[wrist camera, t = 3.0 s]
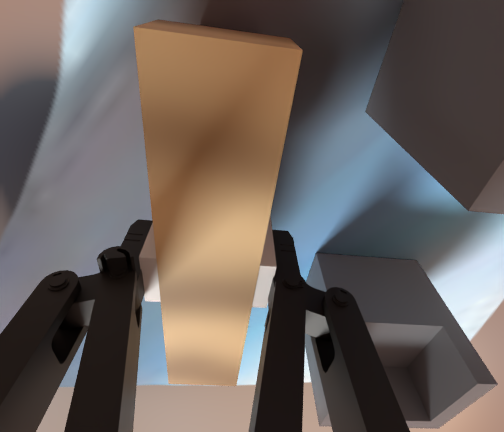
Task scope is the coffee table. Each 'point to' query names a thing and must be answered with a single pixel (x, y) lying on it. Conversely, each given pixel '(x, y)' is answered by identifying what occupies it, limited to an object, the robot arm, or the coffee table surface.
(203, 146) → the slat
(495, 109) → the end caps
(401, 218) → the coffee table surface
